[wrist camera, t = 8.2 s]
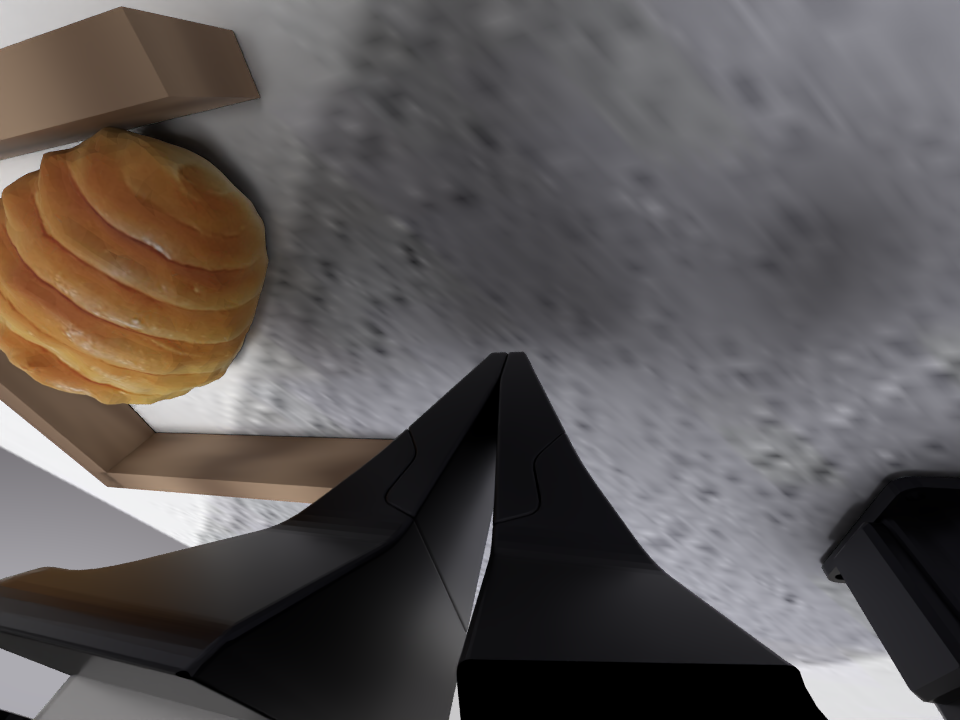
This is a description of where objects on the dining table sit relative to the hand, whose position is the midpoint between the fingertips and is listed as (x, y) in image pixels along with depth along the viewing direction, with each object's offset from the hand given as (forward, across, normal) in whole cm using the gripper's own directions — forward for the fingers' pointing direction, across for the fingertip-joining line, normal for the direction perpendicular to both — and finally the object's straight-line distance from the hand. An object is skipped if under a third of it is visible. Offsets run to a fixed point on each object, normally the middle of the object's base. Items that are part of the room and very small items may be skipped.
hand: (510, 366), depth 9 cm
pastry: (+3, +12, -3) cm, 13 cm away
